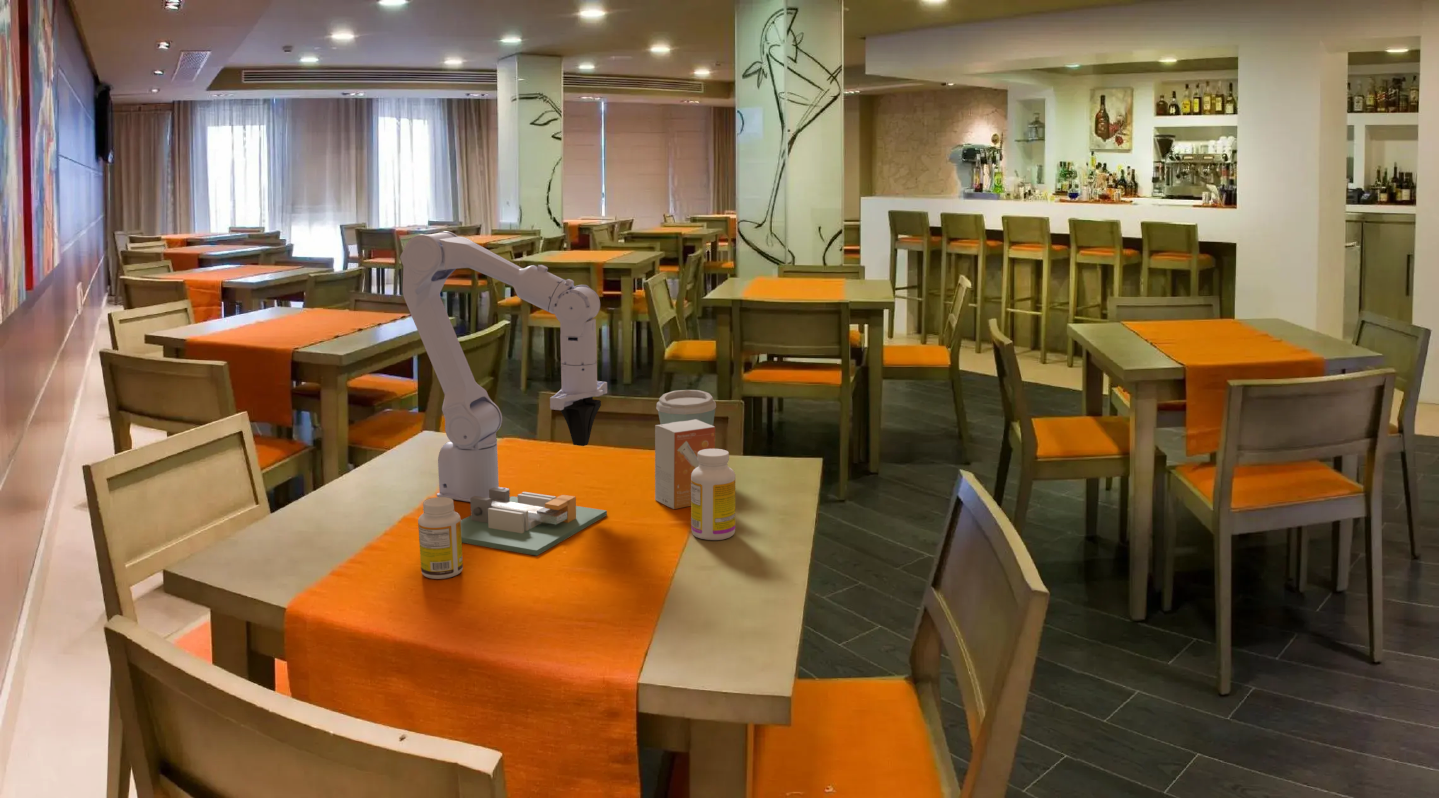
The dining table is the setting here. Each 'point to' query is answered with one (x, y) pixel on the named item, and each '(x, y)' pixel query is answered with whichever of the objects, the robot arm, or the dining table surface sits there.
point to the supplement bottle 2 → (713, 496)
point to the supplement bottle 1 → (440, 539)
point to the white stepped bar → (535, 511)
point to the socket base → (519, 523)
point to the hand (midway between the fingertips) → (580, 444)
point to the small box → (679, 459)
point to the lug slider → (564, 506)
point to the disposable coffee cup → (686, 406)
